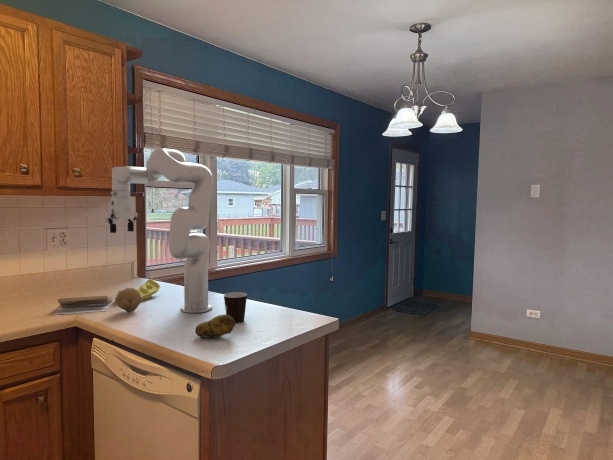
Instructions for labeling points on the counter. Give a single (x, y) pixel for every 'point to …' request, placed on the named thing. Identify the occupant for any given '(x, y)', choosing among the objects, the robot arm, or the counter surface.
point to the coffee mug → (235, 305)
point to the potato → (216, 326)
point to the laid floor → (83, 308)
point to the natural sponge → (129, 299)
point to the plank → (83, 301)
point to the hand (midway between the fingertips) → (122, 232)
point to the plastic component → (146, 289)
